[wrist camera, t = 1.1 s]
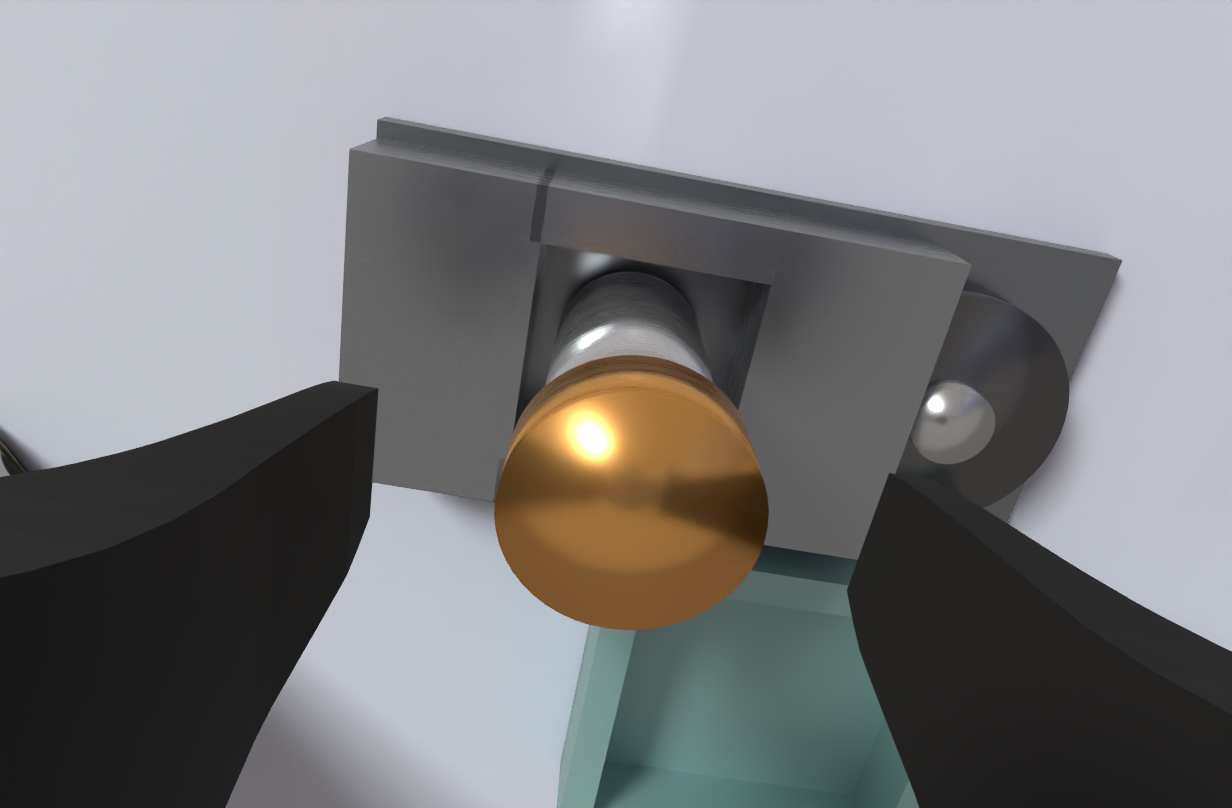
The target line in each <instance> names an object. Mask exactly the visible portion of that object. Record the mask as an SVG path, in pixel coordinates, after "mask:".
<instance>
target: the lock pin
mask: <svg viewBox="0 0 1232 808" xmlns="http://www.w3.org/2000/svg"><path fill="white" fill-rule="evenodd" d="M494 515H495V526H496V532H497V537H498V541H499V545H500V547H501V550H502V552H503V554H504V557H505V559H506V561H507V563H508V564H509V566H510V568H511V569H512V571H513V573H514V574H515V575H516V577H517V578H518V579H519V580H520V582H521V583H522V584H523V585H524V586H525V587H526V588H527V589H528V590H529V591H530V592H531V593H532V594H533V595H534V596H535V597H537V598H538V599H539V600H540V601H542V602H543V603H544V604H546V605H547V606H549V607H550V608H552V609H554V610H555V611H557V612H559V613H561V614H563V615H565V616H567V617H569V618H572V619H574V620H576V621H580V622H583V623H586V624H589V625H592V626H597V627H602V628H607V629H617V630H646V629H655V628H661V627H665V626H670V625H674V624H677V623H680V622H683V621H686V620H689V619H691V618H693V617H695V616H698V615H700V614H702V613H704V612H706V611H707V610H709V609H711V608H712V607H714V606H715V605H717V604H719V603H720V602H721V601H722V600H724V599H725V598H726V597H727V596H729V595H730V594H731V593H732V592H733V591H734V590H735V589H736V588H737V587H738V586H739V585H740V584H741V583H742V582H743V580H744V579H745V578H746V576H747V575H748V574H749V572H750V571H751V570H752V568H753V566H754V564H755V563H756V561H757V559H758V557H759V555H760V552H761V550H762V547H763V544H764V542H765V537H766V533H767V528H768V517H769V507H768V496H767V491H766V487H765V483H764V479H763V476H762V473H761V470H760V467H759V464H758V461H757V458H756V455H755V452H754V449H753V446H752V442H751V439H750V436H749V433H748V431H747V428H746V426H745V423H744V421H743V419H742V417H741V415H740V414H739V412H738V410H737V409H736V407H735V406H734V404H733V403H732V402H731V401H730V399H729V398H728V397H727V396H726V394H725V393H724V392H722V391H721V390H720V389H719V388H718V387H717V386H716V385H715V384H714V383H713V380H712V376H711V372H710V369H709V365H708V361H707V358H706V354H705V350H704V346H703V343H702V339H701V335H700V331H699V328H698V324H697V320H696V317H695V315H694V312H693V310H692V308H691V306H690V305H689V303H688V301H687V300H686V299H685V298H684V296H683V295H682V294H681V293H680V292H679V291H678V290H677V289H676V288H675V287H673V286H672V285H670V284H669V283H668V282H666V281H664V280H662V279H660V278H658V277H656V276H653V275H650V274H646V273H642V272H634V271H622V272H616V273H611V274H607V275H604V276H601V277H599V278H597V279H594V280H593V281H591V282H589V283H588V284H586V285H585V286H584V287H582V288H581V289H580V290H579V291H578V292H577V293H576V294H575V295H574V296H573V297H572V298H571V300H570V301H569V303H568V304H567V306H566V308H565V309H564V311H563V314H562V316H561V319H560V323H559V327H558V331H557V336H556V340H555V344H554V349H553V353H552V357H551V362H550V366H549V370H548V375H547V379H546V384H545V387H544V388H543V389H542V390H541V391H540V392H538V393H537V394H536V395H535V396H534V398H533V399H532V400H531V402H530V403H529V404H528V405H527V407H526V408H525V410H524V411H523V413H522V415H521V417H520V419H519V420H518V422H517V425H516V427H515V430H514V433H513V435H512V439H511V442H510V446H509V449H508V453H507V456H506V460H505V463H504V467H503V470H502V474H501V477H500V481H499V485H498V489H497V494H496V498H495V513H494Z"/></svg>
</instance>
